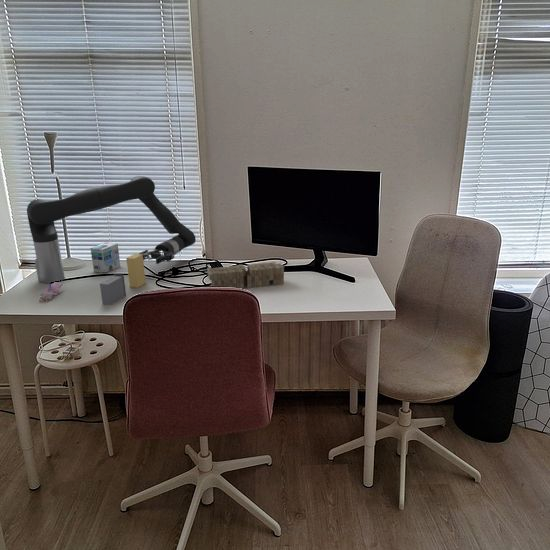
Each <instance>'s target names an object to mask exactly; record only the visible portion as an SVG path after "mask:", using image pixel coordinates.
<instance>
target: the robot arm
mask: <svg viewBox="0 0 550 550" xmlns="http://www.w3.org/2000/svg"><path fill="white" fill-rule="evenodd" d="M155 184H156V183H155V182H154V181H153V180H152V179H151V178H149V177H147V176H144V175H143V176H142V175H138V176H137V175H136V176H133V177H132V178H131V179H130V180H129V181H128V182H124V183H119V184H108V185H107V184H106V185H101V186H95V187H91V188H86V189H82V190H80V191H78V192H75V193H74V194H72V195H70V196H67V197H64V198H61V199H56V200H55V199H54V200H48V201H47V200H45V199H37V198H36V199H34V200H32V201H30V202H29V203H28V205H27V208H26V215H27V220H28V221H27V222H28V225H29V230H30V234H31V238H32V242H33V247H34V252H35V257H36V259H34V265H35V270H36V275H37V280H38V283H44V284H52V283H51V282H55V281H59V282H61V281H64V280H65V278H66V277H65V272H64V265H63V260H62V254H61V249H60V248H61V247H60V241H59V235H58V231H57V228H56V225H55V222H57V221H59V220H62V219H64V218H68V217H71V216H75V215H81V214H86V213H91V212H96V211H99V210H103V209H106V208H108V207H111V206H116V205H118V204H121V203H124V202H127V201H132V200H140V202H141V203H142V204H143V205H145V206H146V208H147V209H148V211H150V212H151V213H152V214H153V215H154V217H155V218H156V219H157V220H158V221H159V223H160V225H162V226H163V228H164V229H165V230H166V231H167V233H169V234H171V235H174V234H176V235H174V236H173V237H172V238H169V239H167V240H164V241H163V242H160V243H159V244H157V245H156V246H155V247H154V249H152V250H149V249H145V250H143V251H141V252H139V253H138V254H143V262H144V261H146V260H148V261H152V260H155V264H157V265H159V264H160V263H162V262H170V261H172V260H173V259H175V255H176V254H178V253H180V252H181V251H182V250H184V249H186V248H188V247H190V246H193V245H194V244H195V243H196V239H197V238H196V235H195V233H194V232H193V231H192V230H191V229H190V228H189V227H187V226H186V225H184V224H183V223H181V222H180V220H178V218H177V217H176V216H175V215H174V213H173V211H171V210H170V209H169V207H167V206H166V205H165V204H164V203H162V202H161V200H160V199H159V198H158V197H157V196H156V195H155V189H156V185H155ZM60 280H61V281H60Z"/></svg>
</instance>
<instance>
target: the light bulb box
mask: <svg viewBox="0 0 550 550" xmlns="http://www.w3.org/2000/svg"><path fill="white" fill-rule="evenodd" d="M90 253H91V255H90V256H91V262H92V267H93V272H94V271H95V272H96V273H102V272H107V273H108V271H109V272H111V271H113V270H116V269H118V268H120V267H121V261H120V258H121V257H120V251H119V243H117V242H115V243H114V242H109V241H108V242H107V241H105V242H103V243H101V244H98V245H95V246H93V247H91V248H90ZM119 266H120V267H119ZM117 267H118V268H117ZM115 268H116V269H115ZM112 269H113V270H112ZM110 270H111V271H110ZM95 272H94V273H95Z"/></svg>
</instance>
